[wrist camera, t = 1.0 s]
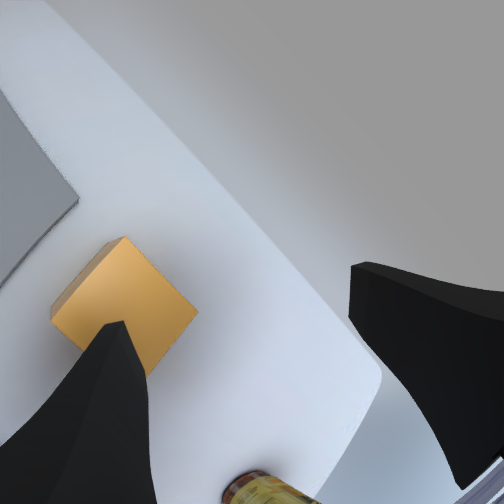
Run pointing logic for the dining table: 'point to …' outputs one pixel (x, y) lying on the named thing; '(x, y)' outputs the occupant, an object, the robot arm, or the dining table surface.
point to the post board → (26, 192)
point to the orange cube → (123, 303)
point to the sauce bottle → (263, 491)
